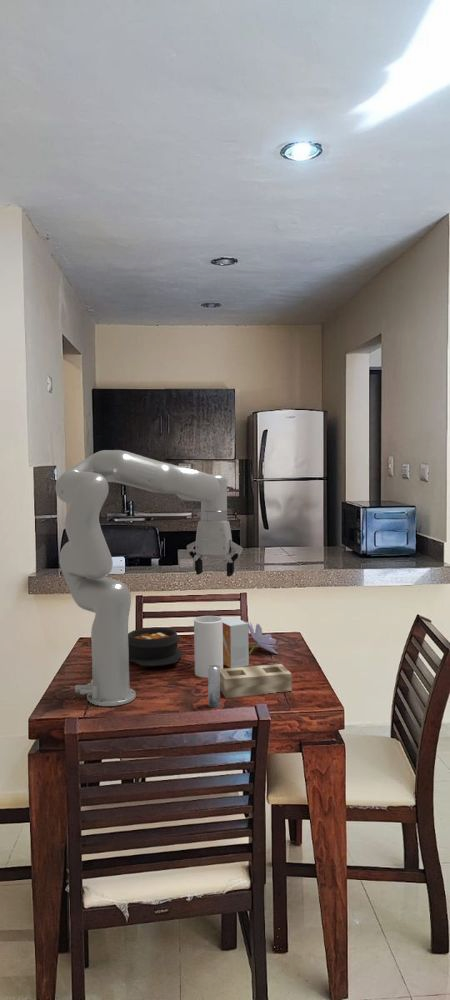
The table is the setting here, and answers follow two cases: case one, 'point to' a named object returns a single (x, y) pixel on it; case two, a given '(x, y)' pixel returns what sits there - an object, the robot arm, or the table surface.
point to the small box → (235, 643)
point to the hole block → (254, 680)
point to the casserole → (153, 646)
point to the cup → (208, 644)
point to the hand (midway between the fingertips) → (214, 574)
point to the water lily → (261, 639)
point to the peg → (214, 686)
